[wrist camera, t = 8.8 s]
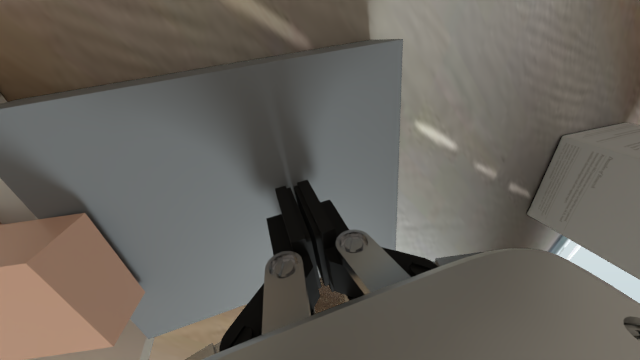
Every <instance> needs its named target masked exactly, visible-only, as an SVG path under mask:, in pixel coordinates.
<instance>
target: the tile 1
mask: <svg viewBox="0 0 640 360" xmlns="http://www.w3.org/2000/svg"><path fill="white" fill-rule="evenodd" d="M144 294H145V291H144V290H143V288H142V287H141V286H140V285H139V283H138V282H137V281H136V279H135V278H134V277H133V275H132V274H131V273H130V271H129V270H128V269H127V267H126V266H125V265H124V263H123V262H122V261H121V259H120V258H119V257H118V255H117V254H116V253H115V252H114V250H113V249H112V248H111V246H110V245H109V244H108V242H107V241H106V240H105V238H104V237H103V236H102V234H101V233H100V232H99V230H98V229H97V228H96V226H95V225H94V224H93V222H92V221H91V220H90V219H89V217H88V216H87V215H86V213H81V214H73V215H66V216H59V217H52V218H45V219H38V220H31V221H23V222H16V223H9V224H2V225H0V360H26V359H33V358H40V357H47V356H53V355H60V354H67V353H74V352H81V351H88V350H94V349H101V348H108V347H114V345H115V343H116V342H117V340H118V338H119V336H120V335H121V333H122V331H123V330H124V328H125V326H126V324H127V323H128V321H129V319H130V318H131V316H132V314H133V312H134V311H135V309H136V307H137V306H138V304H139V302H140V300H141V299H142V297H143V295H144Z"/></svg>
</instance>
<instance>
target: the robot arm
mask: <svg viewBox="0 0 640 360" xmlns="http://www.w3.org/2000/svg"><path fill="white" fill-rule="evenodd" d="M294 191H295V196H296V200H297V202H296V200H295V197H294V195H293V192H292V190H291V188H286V186H282V187H279V188H275V192H276V195H277V199H278V202H279V206H280V210H281V213H282V214H279V215H276V216H273V217H269V218H266V220H267V225H268V230H269V235H270V240H271V245H272V250H273V257H272V258H271V259H270V260H269V261H268V262H267V264H266V267H265V275H264V283H263V285H262V286H261V287H260V289H259V290H258V291H257V293H256V294H255V295H254V296H253V298H252V299H251V300H250V302H249V303H248V304H247V306H246V307H245V308H244V309H243V311H242V312H241V313H240V315H239V316H238V317H237V319H236V320H235V321H234V322H233V324H232V325H231V326H230V328H229V329H228V330H227V332H226V333H225V335H224V336H223V338H222V340H221V342H219V343H217V344H216V345H213V343H211V344H210V345H208V346H206V347H205V348H203V349H201V350H200V351H198V352H196V353H195V354H193V355H192V356H190V357H188V358H187V359H185V360H640V303H638V302H636V301H635V300H633V299H632V298H630V297H628V296H627V295H625V294H624V293H622V292H621V291H619V290H617V289H616V288H614V287H613V286H611V285H610V284H608V283H606V282H605V281H603V280H601V279H600V278H598V277H596V276H595V275H593V274H591V273H590V272H588V271H586V270H584V269H583V268H581V267H579V266H577V265H575V264H574V263H572V262H570V261H568V260H566V259H564V258H562V257H560V256H558V255H555V254H553V253H550V252H547V251H543V250H538V249H529V248H507V249H499V250H492V251H487V252H478V253H471V254H464V255H457V256H450V257H443V258H436V259H435V262H432V261H430V260H428V259H425V258H422V257H418V256H414V255H410V254H406V253H403V252H399V251H395V250H391V249H387V248H383V247H380V246H379V245H378V244H377V243H376V242H375V241H374V240H373V239H372V238H371V237H370V236H369V235H368V234H367V233H365V232H364V231H361V230H355V229H354V230H349V229H348V227H347V225H346V224H345V222H344V221H343V219H342V217H341V216H340V214H339V213H338V211H337V210H336V208H335V206H334V205H333V203H332V202H331V200H326V201H323V202H320V201H319V199H318V197H317V195H316V194H315V192H314V190H313V188H312V187H311V185H310V183H309V181H308V180H304V181H301V182H297V186H294ZM297 204H298V205H297ZM317 267H318V269H317ZM318 270H319V273H320V275H321V278H322V280H323V283H324V285H325V286H327V285H329V286H330V289H331V291H332V292H333V291H336V292H339V293H342V294H343V297H344V299H345V301H346V302H345V303H343V304H340V305H337V306H335V307H332V308H330V309H327V310H325V311H322V312H319V313H317V314H316V313H315V308H314V306H315V304H316V303H317V301H318V299H319V297H320V294H319V290H318V288H321V283H320V279H319V274H318Z"/></svg>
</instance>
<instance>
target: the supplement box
mask: <svg viewBox="0 0 640 360" xmlns="http://www.w3.org/2000/svg"><path fill="white" fill-rule="evenodd" d="M527 215H529V216H530V217H532V218H534V219H536V220H537V221H539V222H541V223H543V224H544V225H546V226H548V227H550V228H551V229H553V230H555V231H556V232H558V233H560V234H562V235H563V236H565V237H567V238H569V239H570V240H572V241H574V242H575V243H577V244H579V245H581V246H582V247H584V248H586V249H588V250H589V251H591V252H593V253H595V254H596V255H598V256H600V257H601V258H603V259H605V260H607V261H608V262H610V263H612V264H614V265H615V266H617V267H619V268H621V269H622V270H624V271H626V272H627V273H629V274H631V275H633V276H634V277H636V278H638V279H640V125H636V124H631V123H621V124H617V125H612V126H607V127H602V128H597V129H593V130H588V131H583V132H578V133H574V134H569V135H564V136H562V138H561V141H560V143H559V145H558V147H557V150H556V152H555V154H554V156H553V158H552V160H551V163H550V165H549V167H548V169H547V171H546V174H545V176H544V178H543V180H542V182H541V185H540V187H539V189H538V191H537V194H536V196H535V198H534V200H533V202H532V204H531V207H530V209H529V211H528V212H527Z"/></svg>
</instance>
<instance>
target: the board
mask: <svg viewBox="0 0 640 360" xmlns="http://www.w3.org/2000/svg"><path fill="white" fill-rule="evenodd" d="M402 50H403V39H388V40H367V41H361V42H355V43H349V44H343V45H337V46H331V47H325V48H319V49H314V50H308V51H302V52H296V53H290V54H284V55H278V56H272V57H266V58H260V59H255V60H249V61H243V62H237V63H231V64H225V65H219V66H213V67H207V68H201V69H195V70H190V71H184V72H178V73H172V74H166V75H160V76H154V77H148V78H142V79H136V80H130V81H125V82H119V83H113V84H107V85H101V86H95V87H89V88H83V89H77V90H71V91H66V92H60V93H54V94H48V95H42V96H36V97H30V98H24V99H18V100H14V101H10V102H6V103H2V104H0V178H1V179H2V180H3V181H4V183H5V184H6V185H7V186H8V187H9V188H10V189H11V190H12V191H13V192H14V193H15V195H16V196H17V197H18V198H19V199H20V200H21V201H22V202H23V203H24V204H25V205H26V206H27V208H28V209H29V210H30V211H31V212H32V213H33V214H34V215H35V216H36V217H37V218H38V219H45V218H52V217H59V216H66V215H73V214H81V213H86V215H87V216H88V217H89V219H90V220H91V221H92V222H93V224H94V225H95V226H96V228H97V229H98V230H99V232H100V233H101V234H102V236H103V237H104V238H105V240H106V241H107V242H108V244H109V245H110V246H111V248H112V249H113V250H114V252H115V253H116V254H117V255H118V257H119V258H120V259H121V261H122V262H123V263H124V265H125V266H126V267H127V269H128V270H129V271H130V273H131V274H132V275H133V277H134V278H135V279H136V281H137V282H138V283H139V285H140V286H141V287H142V288H143V290H144V291H145V294H144V295H143V297H142V299H141V300H140V302H139V304H138V306H137V307H136V309H135V311H134V312H133V314H132V316H131V318H130V320H131V321H132V322H133V323H134V324H135V325H136V326H137V327H138V328H139V329H140V330H141V332H142V333H143V334H144V335H145V336H146V337H147V338H148V339H150V338H153V337H156V336H159V335H162V334H164V333H167V332H170V331H173V330H176V329H178V328H181V327H184V326H187V325H190V324H192V323H195V322H198V321H201V320H204V319H206V318H209V317H212V316H215V315H218V314H220V313H223V312H226V311H229V310H232V309H234V308H237V307H240V306H243V305H246V304H248V303H249V302H250V300H251V299H252V298H253V296H254V295H255V294H256V293H257V291H258V290H259V289H260V287H261V286H262V285H263V283H264V275H265V267H266V264H267V262H268V261H269V260H270V259H271V258H272V257H273V250H272V245H271V240H270V235H269V230H268V225H267V220H266V218H269V217H273V216H276V215H279V214H282V213H281V210H280V206H279V202H278V199H277V195H276V192H275V188H279V187H282V186H286V188H291V190H292V192H293V195H294V197H295V200H296V196H295V191H294V186H297V182H301V181H304V180H308V181H309V183H310V185H311V187H312V188H313V190H314V192H315V194H316V195H317V197H318V199H319V201H320V202H323V201H326V200H331V202H332V203H333V205H334V206H335V208H336V210H337V211H338V213H339V214H340V216H341V217H342V219H343V221H344V222H345V224H346V225H347V227H348V229H349V230H354V229H355V230H361V231H364V232H365V233H367V234H368V235H369V236H370V237H371V238H372V239H373V240H374V241H375V242H376V243H377V244H378V245H379V246H380V247H383V248H387V249H391V250H395V251H396V223H397V194H398V165H399V136H400V107H401V78H402ZM296 202H297V200H296ZM297 205H298V204H297ZM317 269H318V267H317ZM318 274H319V278H321V275H320V273H319V270H318Z"/></svg>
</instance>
